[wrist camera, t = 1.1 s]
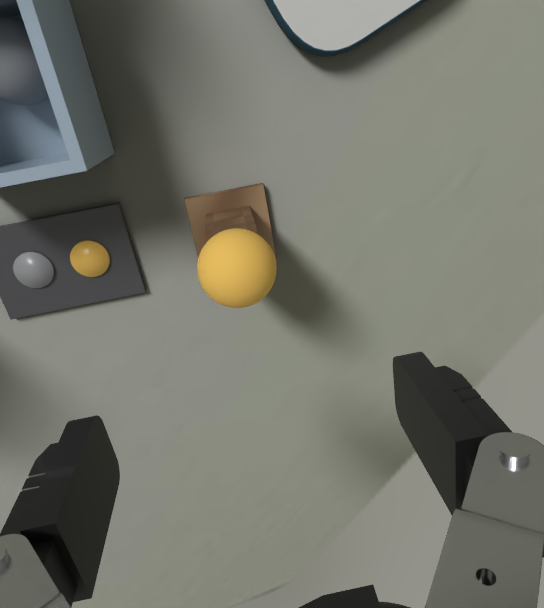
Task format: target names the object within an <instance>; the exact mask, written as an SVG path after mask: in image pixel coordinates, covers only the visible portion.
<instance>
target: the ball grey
mask: <svg viewBox="0 0 544 608" xmlns="http://www.w3.org/2000/svg"><path fill="white" fill-rule="evenodd" d="M48 97H49V96H48V93H47V90H46V87H45V84H44V81H43V78H42V75H41V72H40V69H39V66H38V63H37V60H36V57H35V54H34V51H33V48H32V45H31V42H30V39H29V36H28V33H27V30H26V28H25V25H24V22H23V19H20V18H15V17H9V16H2V17H0V99H2V100H4V101H6V102H9V103H12V104H17V105H32V104H36V103H39V102H41V101H43V100H45V99H46V98H48Z"/></svg>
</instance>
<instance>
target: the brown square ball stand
mask: <svg viewBox="0 0 544 608" xmlns="http://www.w3.org/2000/svg"><path fill="white" fill-rule="evenodd" d="M184 202H185V206H186V210H187V214H188V218H189V222H190V226H191V230H192V234H193V238H194V242H195V246H196V250H197V254H198V258H199V255H200V252H201V250H202V248H203V247H204V245H205V244H206V242H207V241H208V240H209V239H210V238H212V237H213V236H214V235H216V234H217V233H219V232H221V231H224V230H227V229H233V228H240V229H246V230H250V231H252V232H254V233H256V234H258V235H259V236H261V237H262V238H263V239H264V240H265V241H266V242H267V243H268V244H269V245H270V247H271V249H272V251H273V253H274V255H275V259H276V253H275V247H274V242H273V236H272V230H271V225H270V219H269V214H268V208H267V202H266V197H265V191H264V185H263V183H260V184H255V185H250V186H245V187H240V188H235V189H229V190H224V191H219V192H214V193H209V194H204V195H199V196H194V197H189V198H185V199H184ZM276 260H277V259H276Z"/></svg>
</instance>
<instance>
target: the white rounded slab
mask: <svg viewBox="0 0 544 608" xmlns="http://www.w3.org/2000/svg"><path fill="white" fill-rule="evenodd" d="M424 1H426V0H265V2H266V4H267V6H268V8H269V10H270V11H271V13H272V15H273V16H274V18H275V20H276V22H277V23H278V25H279V26H280V27H281V29H282V30H283V31H284V33H285V34H286V35H287V37H288V38H289V39H290V40H292V41H293V42H294V43H295V44H296V45H297V46H298V47H300V48H301V49H303V50H305V51H307V52H308V53H311V54H315V55H319V56H333V55H337V54H340V53H343V52H346V51H348V50H350V49H352V48H354V47H356V46H358V45H359V44H361V43H362V42H364V41H365V40H367V39H368V38H370V37H372V36H373V35H375V34H376V33H378V32H379V31H381V30H382V29H384V28H385V27H387V26H388V25H390V24H391V23H393V22H394V21H396V20H397V19H399V18H400V17H402V16H403V15H405V14H406V13H408V12H409V11H411V10H412V9H414V8H415V7H417V6H418V5H420V4H421V3H423V2H424Z"/></svg>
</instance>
